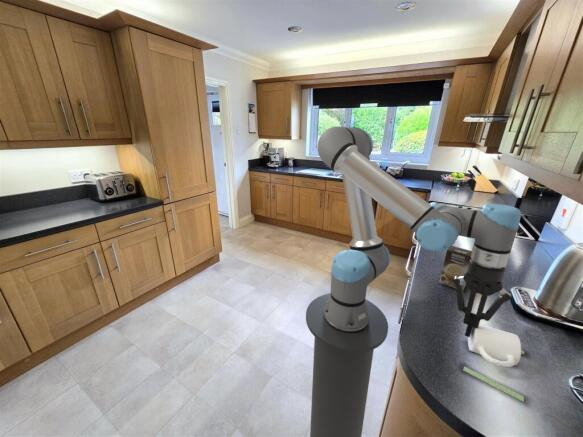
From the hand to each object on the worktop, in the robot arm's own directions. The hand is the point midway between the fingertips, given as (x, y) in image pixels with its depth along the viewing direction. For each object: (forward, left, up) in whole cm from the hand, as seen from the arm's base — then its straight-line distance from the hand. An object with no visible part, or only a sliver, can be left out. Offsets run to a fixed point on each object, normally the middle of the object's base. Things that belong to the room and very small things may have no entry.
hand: (468, 333), depth 71 cm
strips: (+7, 0, -5) cm, 8 cm away
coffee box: (-10, +36, -5) cm, 37 cm away
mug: (+6, 0, -5) cm, 8 cm away
